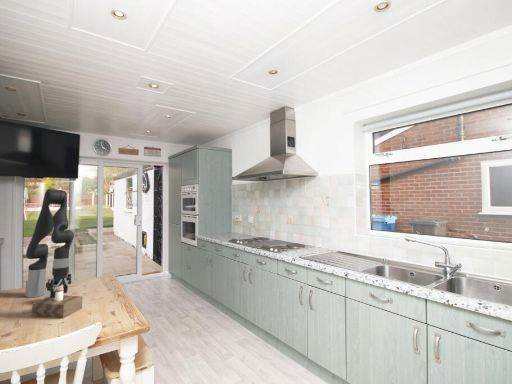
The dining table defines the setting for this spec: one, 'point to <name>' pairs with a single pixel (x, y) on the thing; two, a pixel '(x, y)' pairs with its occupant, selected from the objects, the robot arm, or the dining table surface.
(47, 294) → the jar
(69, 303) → the socket block
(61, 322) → the dining table surface
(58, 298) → the plug
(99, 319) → the dining table surface
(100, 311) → the dining table surface
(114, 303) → the dining table surface
